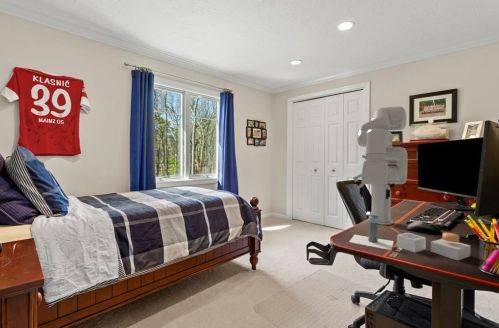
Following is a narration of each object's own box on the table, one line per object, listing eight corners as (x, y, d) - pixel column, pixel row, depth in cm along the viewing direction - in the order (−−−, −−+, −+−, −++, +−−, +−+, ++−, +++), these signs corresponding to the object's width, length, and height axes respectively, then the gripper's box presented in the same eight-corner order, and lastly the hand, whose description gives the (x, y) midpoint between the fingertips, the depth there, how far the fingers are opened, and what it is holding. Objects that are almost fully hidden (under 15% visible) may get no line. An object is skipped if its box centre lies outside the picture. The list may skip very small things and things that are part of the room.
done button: (439, 238, 98) (439, 233, 98) (446, 236, 101) (446, 231, 100) (454, 242, 94) (455, 237, 94) (461, 240, 96) (461, 235, 96)
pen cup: (396, 246, 104) (397, 234, 104) (407, 244, 108) (407, 232, 107) (414, 253, 98) (415, 240, 98) (425, 250, 101) (425, 237, 101)
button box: (430, 251, 99) (430, 241, 99) (442, 248, 103) (443, 238, 103) (457, 260, 91) (458, 249, 91) (470, 256, 96) (470, 245, 95)
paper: (348, 242, 109) (348, 241, 109) (354, 234, 119) (354, 234, 119) (391, 250, 100) (391, 249, 100) (393, 241, 110) (393, 241, 110)
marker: (366, 240, 111) (367, 215, 110) (372, 239, 113) (372, 214, 112) (373, 243, 108) (374, 217, 107) (379, 241, 109) (380, 216, 109)
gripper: (352, 157, 110) (351, 196, 111) (398, 158, 101) (397, 201, 101) (355, 157, 116) (354, 194, 117) (399, 158, 107) (397, 198, 108)
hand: (374, 197), depth 109 cm, fingers open, 9 cm apart
